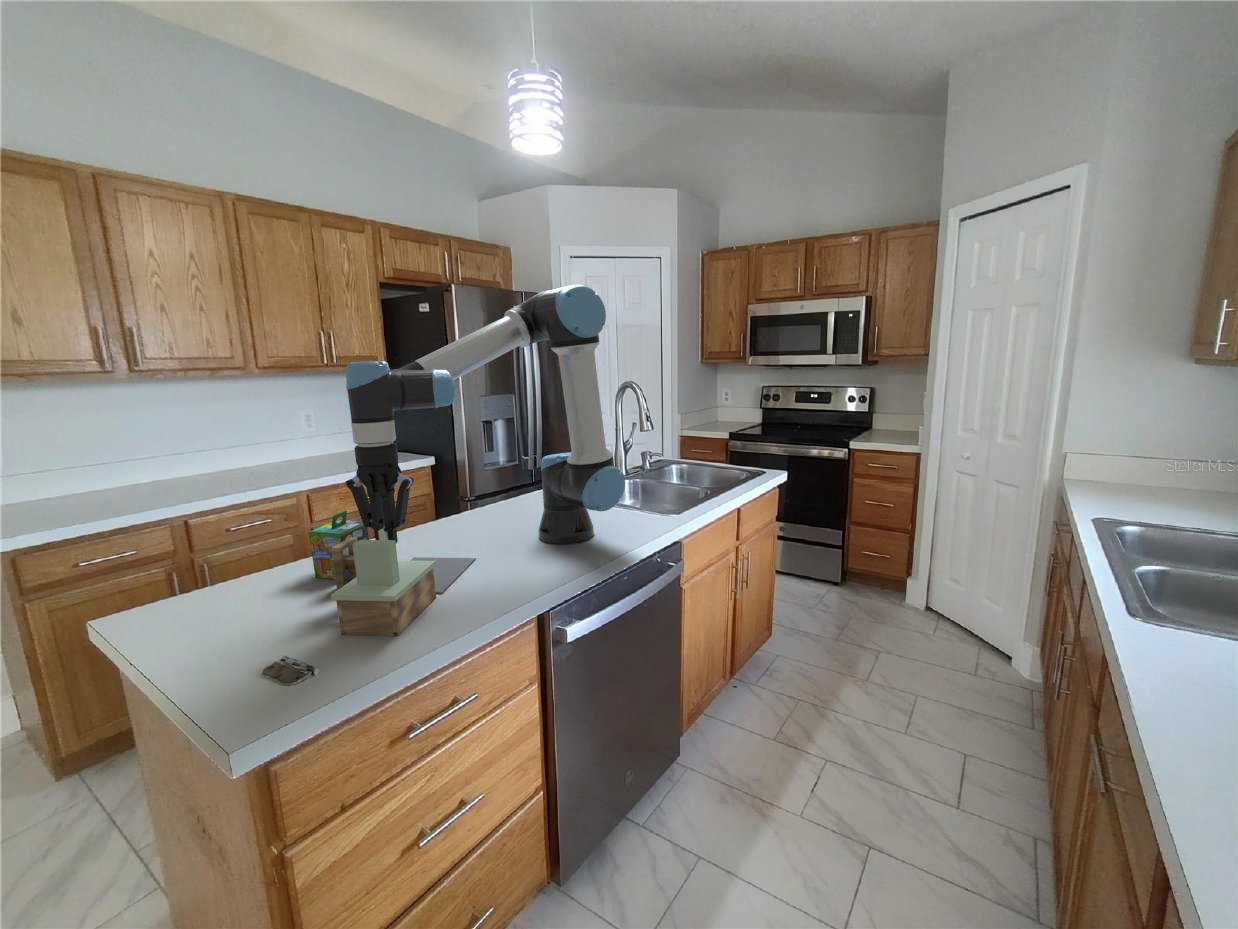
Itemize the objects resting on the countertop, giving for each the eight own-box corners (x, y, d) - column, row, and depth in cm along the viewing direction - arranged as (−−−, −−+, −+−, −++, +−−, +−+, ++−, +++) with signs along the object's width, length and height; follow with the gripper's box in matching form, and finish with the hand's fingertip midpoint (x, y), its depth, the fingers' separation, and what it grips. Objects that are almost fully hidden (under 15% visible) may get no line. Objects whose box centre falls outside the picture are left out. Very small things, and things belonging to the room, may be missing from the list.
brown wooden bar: (383, 568, 109) (381, 550, 108) (331, 567, 110) (328, 549, 110) (389, 564, 111) (387, 546, 111) (338, 563, 113) (336, 545, 112)
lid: (395, 601, 98) (389, 553, 96) (331, 600, 99) (325, 552, 97) (436, 565, 114) (432, 523, 112) (381, 564, 115) (376, 523, 114)
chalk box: (341, 564, 136) (333, 506, 133) (373, 566, 134) (366, 507, 131) (313, 578, 127) (304, 517, 125) (347, 581, 125) (339, 518, 122)
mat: (475, 559, 136) (475, 558, 136) (442, 593, 117) (442, 592, 117) (414, 558, 138) (414, 557, 138) (371, 592, 119) (370, 590, 119)
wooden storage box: (398, 636, 99) (390, 566, 97) (311, 634, 101) (300, 565, 99) (436, 597, 115) (429, 536, 112) (360, 596, 117) (352, 536, 114)
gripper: (417, 439, 108) (428, 553, 113) (354, 440, 110) (368, 553, 114) (398, 446, 101) (411, 567, 106) (331, 446, 102) (347, 567, 107)
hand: (388, 560), depth 110 cm, fingers closed
